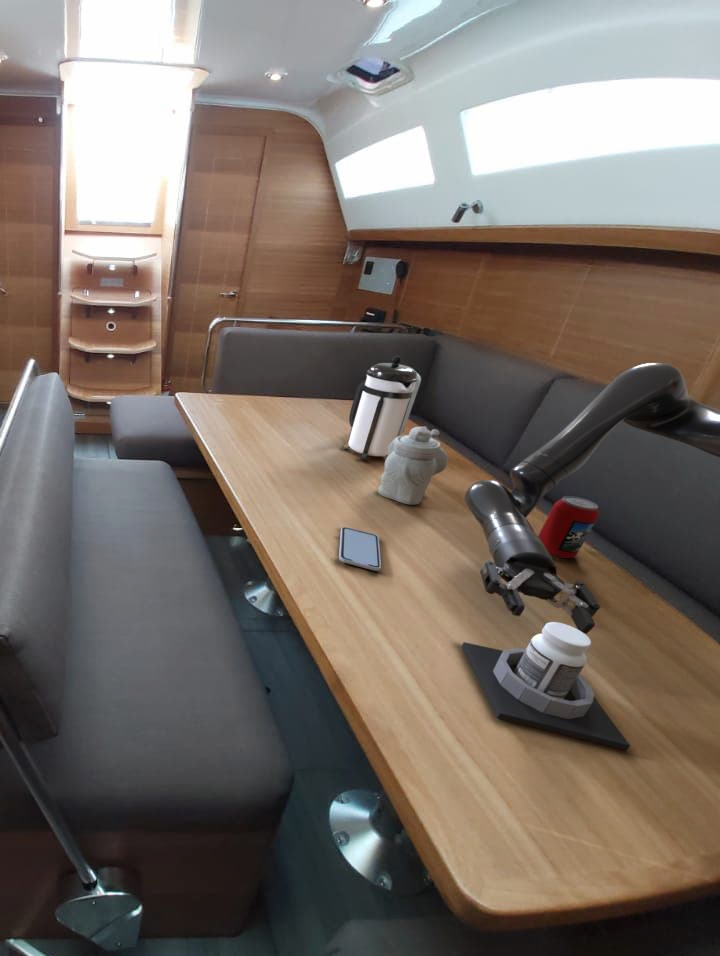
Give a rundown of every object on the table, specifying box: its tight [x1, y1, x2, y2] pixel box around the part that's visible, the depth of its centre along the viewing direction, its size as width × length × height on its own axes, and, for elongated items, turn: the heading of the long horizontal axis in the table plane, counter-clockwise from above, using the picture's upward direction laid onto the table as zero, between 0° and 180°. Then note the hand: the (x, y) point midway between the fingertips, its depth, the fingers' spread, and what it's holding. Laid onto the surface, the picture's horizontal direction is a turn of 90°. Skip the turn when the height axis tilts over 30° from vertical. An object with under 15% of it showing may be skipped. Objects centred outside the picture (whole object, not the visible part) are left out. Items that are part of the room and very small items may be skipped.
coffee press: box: [341, 355, 418, 462], centre depth 147 cm, size 17×16×30 cm
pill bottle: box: [514, 621, 592, 699], centre depth 68 cm, size 6×6×10 cm
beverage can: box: [537, 495, 600, 559], centre depth 103 cm, size 7×7×12 cm
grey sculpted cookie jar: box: [378, 426, 448, 506], centre depth 125 cm, size 16×15×19 cm
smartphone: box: [338, 526, 382, 572], centre depth 103 cm, size 7×1×15 cm
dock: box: [461, 641, 631, 751], centre depth 70 cm, size 14×14×4 cm
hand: (552, 620), depth 76 cm, fingers open, 8 cm apart
